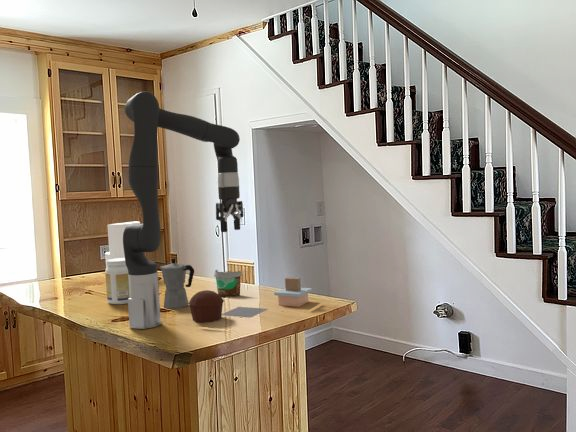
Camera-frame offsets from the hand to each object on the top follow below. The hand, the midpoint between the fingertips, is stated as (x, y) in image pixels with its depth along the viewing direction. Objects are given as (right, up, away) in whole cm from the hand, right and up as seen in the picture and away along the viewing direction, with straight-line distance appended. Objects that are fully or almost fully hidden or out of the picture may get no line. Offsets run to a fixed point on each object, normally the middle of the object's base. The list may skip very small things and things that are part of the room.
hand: (230, 230), depth 198 cm
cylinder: (-59, -26, +73) cm, 98 cm away
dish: (+23, -27, 0) cm, 35 cm away
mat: (+6, -28, -9) cm, 30 cm away
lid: (+22, -22, 0) cm, 32 cm away
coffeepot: (-20, -29, +8) cm, 36 cm away
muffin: (-6, -30, -17) cm, 34 cm away
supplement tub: (-45, -29, +22) cm, 58 cm away
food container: (-4, -27, +23) cm, 35 cm away
